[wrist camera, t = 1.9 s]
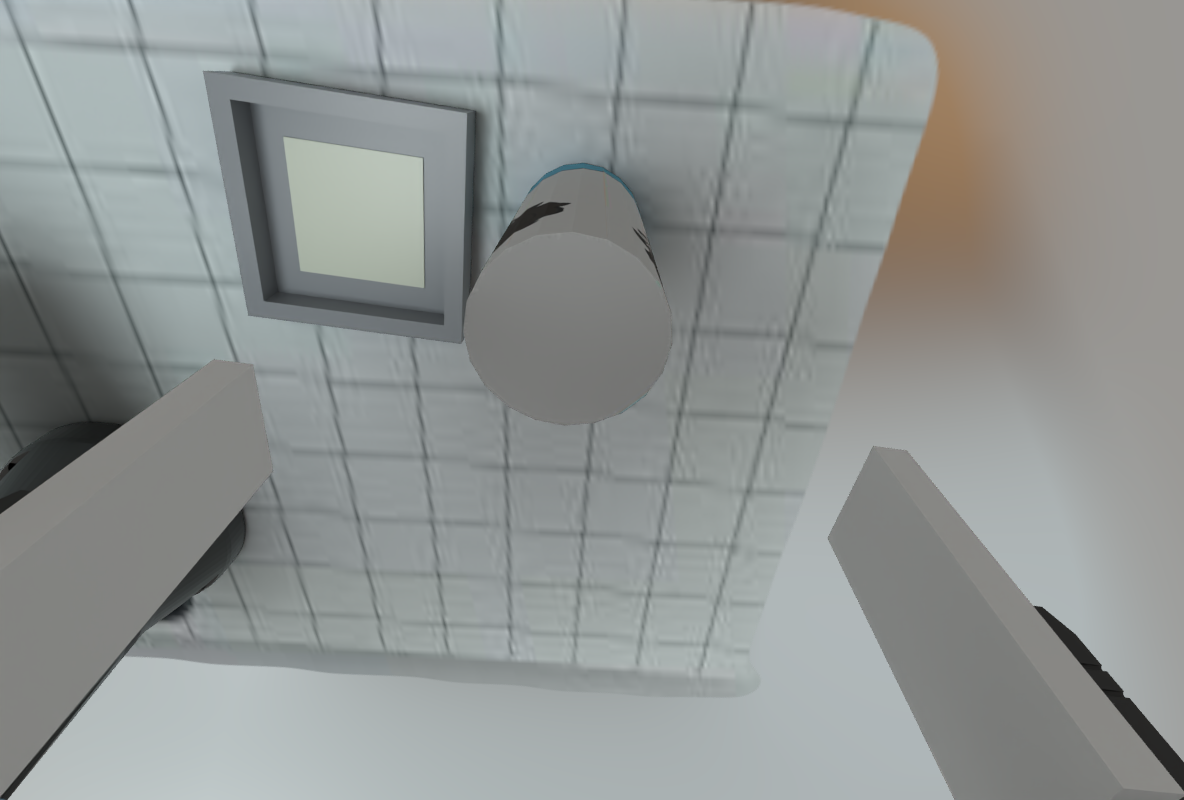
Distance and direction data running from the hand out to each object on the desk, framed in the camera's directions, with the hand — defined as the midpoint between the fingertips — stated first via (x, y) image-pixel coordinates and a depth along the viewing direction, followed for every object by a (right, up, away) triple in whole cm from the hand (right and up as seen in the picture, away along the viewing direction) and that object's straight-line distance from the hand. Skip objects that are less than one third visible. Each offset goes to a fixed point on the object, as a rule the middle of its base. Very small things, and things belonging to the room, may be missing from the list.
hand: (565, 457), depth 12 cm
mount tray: (-12, +12, +18) cm, 25 cm away
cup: (0, +11, +19) cm, 22 cm away
